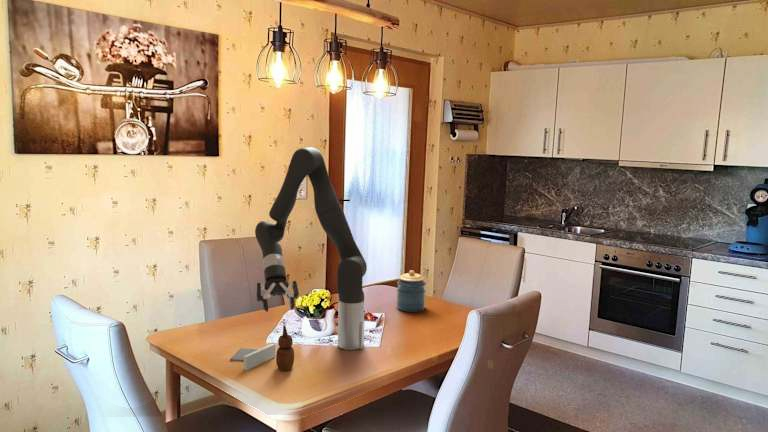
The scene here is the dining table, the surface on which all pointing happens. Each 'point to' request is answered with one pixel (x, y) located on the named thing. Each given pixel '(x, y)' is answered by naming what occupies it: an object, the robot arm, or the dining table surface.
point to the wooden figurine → (285, 351)
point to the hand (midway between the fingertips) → (279, 309)
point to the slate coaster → (241, 354)
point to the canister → (411, 292)
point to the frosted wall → (259, 356)
